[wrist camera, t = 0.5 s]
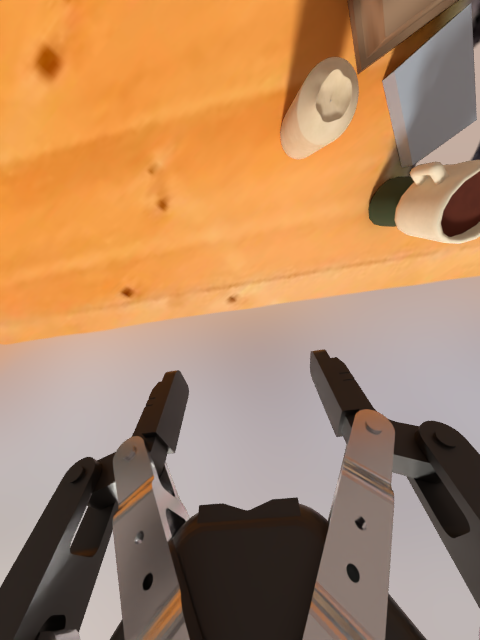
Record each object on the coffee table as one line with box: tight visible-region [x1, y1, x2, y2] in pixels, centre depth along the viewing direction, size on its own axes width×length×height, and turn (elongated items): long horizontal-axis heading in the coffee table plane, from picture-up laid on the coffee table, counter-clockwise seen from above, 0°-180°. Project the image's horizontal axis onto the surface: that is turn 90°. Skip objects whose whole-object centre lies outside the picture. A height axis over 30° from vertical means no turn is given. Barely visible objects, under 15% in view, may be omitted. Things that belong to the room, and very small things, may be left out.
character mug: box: [369, 160, 480, 244], centre depth 23 cm, size 11×7×13 cm, turn 53°
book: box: [382, 3, 477, 167], centre depth 22 cm, size 10×7×2 cm
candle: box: [280, 57, 359, 159], centre depth 20 cm, size 6×6×10 cm
